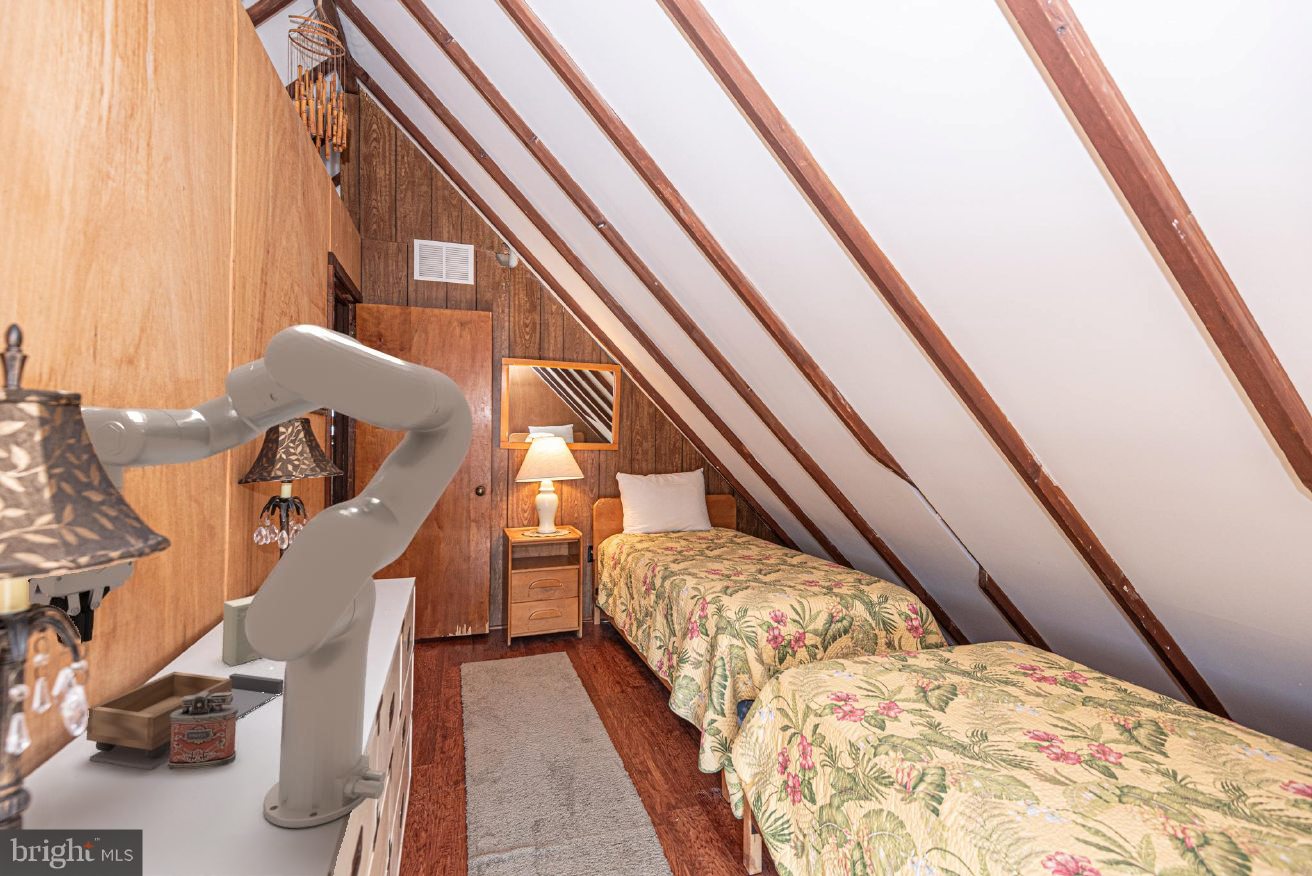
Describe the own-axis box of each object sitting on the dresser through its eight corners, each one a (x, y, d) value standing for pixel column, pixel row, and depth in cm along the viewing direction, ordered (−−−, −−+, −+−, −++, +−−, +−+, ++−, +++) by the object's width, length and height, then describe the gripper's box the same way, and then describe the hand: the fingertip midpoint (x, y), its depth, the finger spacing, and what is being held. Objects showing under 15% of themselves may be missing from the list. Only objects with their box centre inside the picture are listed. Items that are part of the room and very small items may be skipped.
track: (282, 693, 103) (283, 679, 103) (151, 769, 80) (151, 752, 80) (233, 686, 104) (234, 673, 104) (89, 760, 81) (90, 742, 81)
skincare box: (255, 651, 120) (257, 594, 119) (265, 657, 117) (268, 598, 117) (220, 661, 114) (222, 601, 114) (230, 667, 112) (233, 606, 112)
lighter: (162, 772, 79) (165, 701, 79) (175, 758, 82) (178, 690, 82) (229, 766, 81) (232, 697, 81) (240, 753, 85) (243, 686, 84)
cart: (230, 720, 92) (232, 679, 92) (151, 765, 79) (153, 718, 79) (172, 712, 93) (174, 671, 93) (85, 755, 81) (87, 708, 81)
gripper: (36, 511, 66) (28, 669, 66) (164, 497, 81) (157, 625, 81) (-18, 505, 67) (-26, 661, 67) (119, 492, 82) (112, 619, 82)
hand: (74, 641), depth 74 cm, fingers closed
